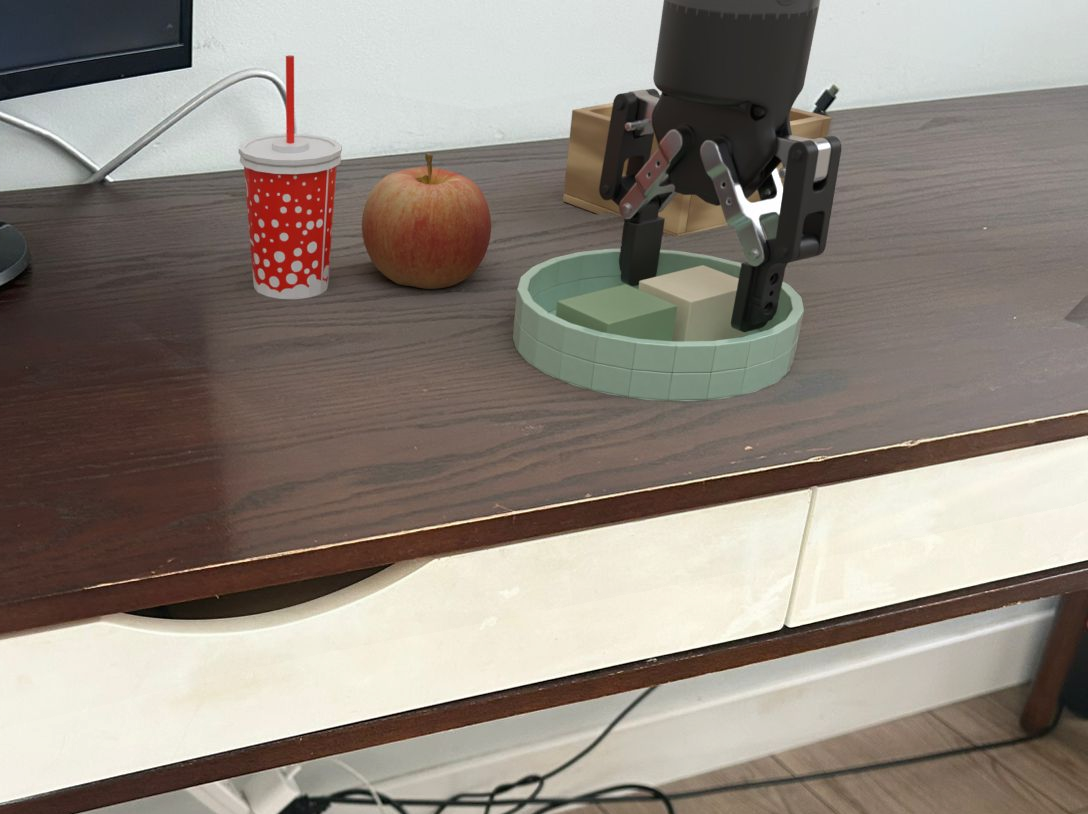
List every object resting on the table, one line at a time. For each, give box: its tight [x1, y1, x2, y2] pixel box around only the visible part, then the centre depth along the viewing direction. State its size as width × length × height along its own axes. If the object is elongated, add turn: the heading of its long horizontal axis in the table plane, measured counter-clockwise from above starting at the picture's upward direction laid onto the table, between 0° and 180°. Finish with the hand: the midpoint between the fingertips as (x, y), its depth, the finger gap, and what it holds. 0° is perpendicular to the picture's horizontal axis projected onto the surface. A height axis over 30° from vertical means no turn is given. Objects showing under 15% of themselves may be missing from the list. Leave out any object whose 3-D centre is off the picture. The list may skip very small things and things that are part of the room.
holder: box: [562, 94, 832, 238], centre depth 98 cm, size 14×12×7 cm
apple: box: [361, 152, 492, 290], centre depth 84 cm, size 8×8×8 cm
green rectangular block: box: [556, 284, 677, 341], centre depth 74 cm, size 5×4×3 cm
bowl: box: [512, 248, 805, 402], centre depth 76 cm, size 15×15×4 cm
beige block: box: [638, 265, 747, 342], centre depth 77 cm, size 5×4×3 cm
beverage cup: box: [238, 54, 343, 300], centre depth 82 cm, size 6×6×14 cm
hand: (690, 304), depth 77 cm, fingers open, 8 cm apart
